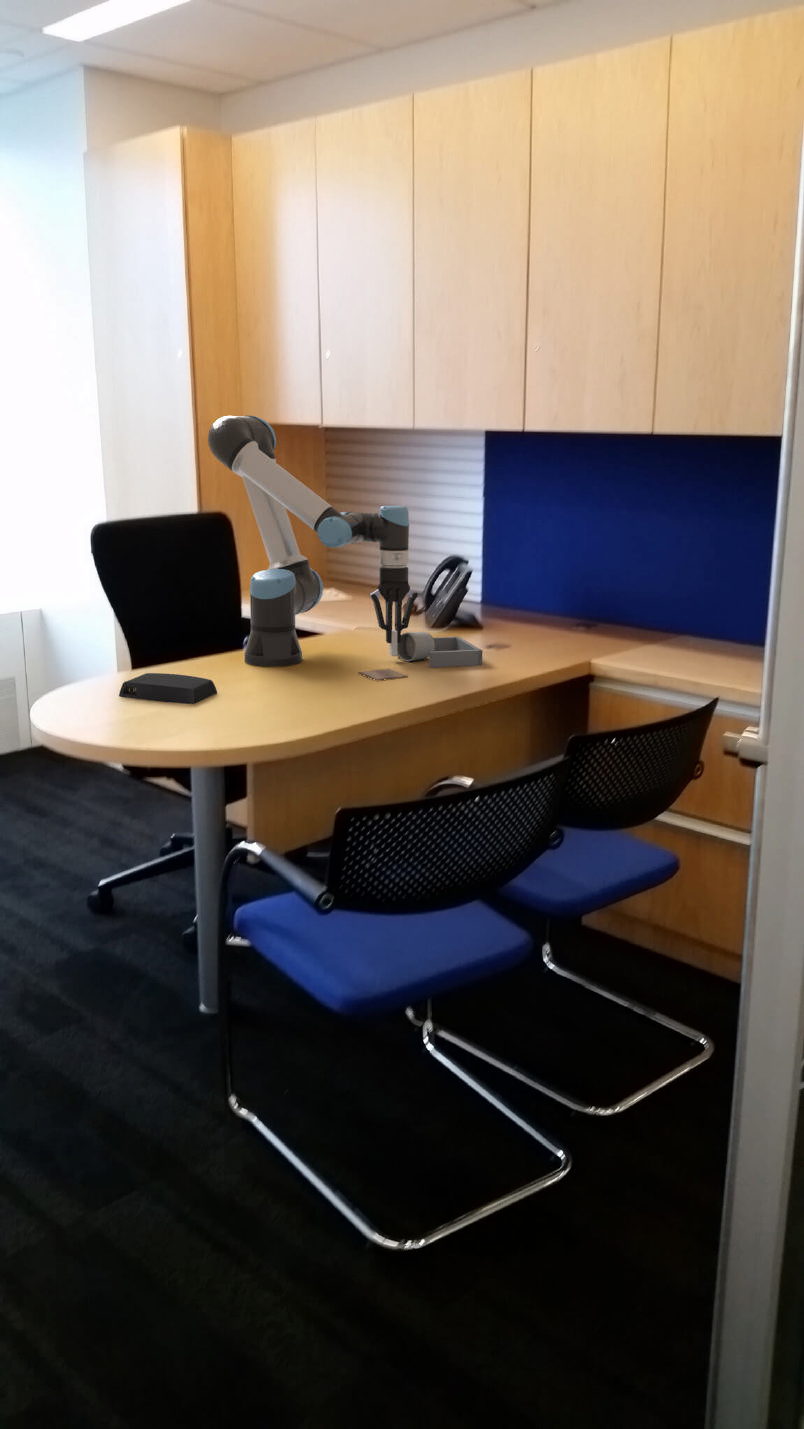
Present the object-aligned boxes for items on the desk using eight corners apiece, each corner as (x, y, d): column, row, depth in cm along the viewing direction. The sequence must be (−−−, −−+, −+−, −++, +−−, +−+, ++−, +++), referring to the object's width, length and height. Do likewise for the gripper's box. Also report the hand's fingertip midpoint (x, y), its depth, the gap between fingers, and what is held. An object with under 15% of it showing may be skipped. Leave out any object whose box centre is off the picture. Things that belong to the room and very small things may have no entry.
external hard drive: (146, 686, 274) (146, 670, 273) (219, 694, 268) (219, 677, 267) (116, 698, 262) (116, 681, 261) (192, 707, 256) (191, 689, 255)
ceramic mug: (437, 659, 307) (437, 631, 305) (415, 663, 301) (415, 634, 299) (409, 654, 314) (409, 626, 312) (387, 657, 309) (387, 629, 307)
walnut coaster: (376, 683, 282) (376, 679, 282) (358, 675, 289) (358, 672, 289) (407, 679, 287) (407, 675, 286) (388, 672, 294) (389, 668, 294)
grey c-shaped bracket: (430, 667, 298) (430, 652, 297) (409, 652, 316) (409, 638, 315) (481, 665, 301) (482, 650, 300) (458, 650, 319) (458, 636, 318)
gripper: (373, 568, 293) (372, 658, 299) (421, 567, 296) (420, 656, 302) (366, 564, 300) (366, 653, 306) (413, 563, 303) (412, 651, 309)
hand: (393, 654), depth 304 cm, fingers closed
